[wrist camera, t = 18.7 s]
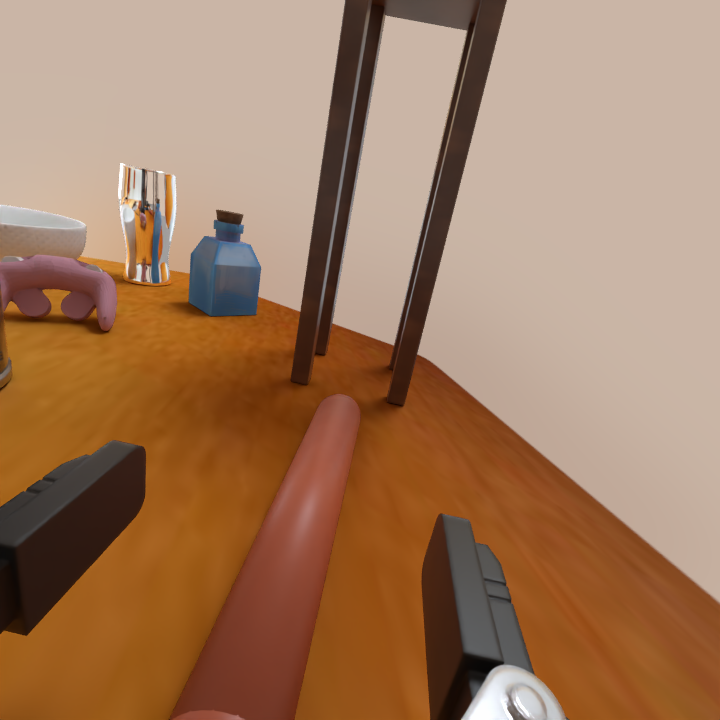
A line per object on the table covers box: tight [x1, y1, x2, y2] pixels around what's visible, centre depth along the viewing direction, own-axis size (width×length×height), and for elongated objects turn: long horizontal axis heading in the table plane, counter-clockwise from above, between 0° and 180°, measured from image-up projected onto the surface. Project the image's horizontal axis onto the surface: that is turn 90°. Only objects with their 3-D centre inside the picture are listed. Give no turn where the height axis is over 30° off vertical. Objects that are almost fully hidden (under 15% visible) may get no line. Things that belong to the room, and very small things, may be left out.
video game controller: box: [0, 255, 117, 331], centre depth 36 cm, size 10×5×7 cm, turn 115°
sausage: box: [169, 394, 361, 720], centre depth 18 cm, size 21×3×3 cm, turn 174°
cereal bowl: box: [0, 204, 86, 262], centre depth 47 cm, size 17×17×7 cm
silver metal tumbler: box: [119, 164, 176, 286], centre depth 55 cm, size 7×7×15 cm
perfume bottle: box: [189, 210, 261, 316], centre depth 49 cm, size 6×6×12 cm
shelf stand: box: [291, 0, 507, 406], centre depth 33 cm, size 10×10×33 cm
